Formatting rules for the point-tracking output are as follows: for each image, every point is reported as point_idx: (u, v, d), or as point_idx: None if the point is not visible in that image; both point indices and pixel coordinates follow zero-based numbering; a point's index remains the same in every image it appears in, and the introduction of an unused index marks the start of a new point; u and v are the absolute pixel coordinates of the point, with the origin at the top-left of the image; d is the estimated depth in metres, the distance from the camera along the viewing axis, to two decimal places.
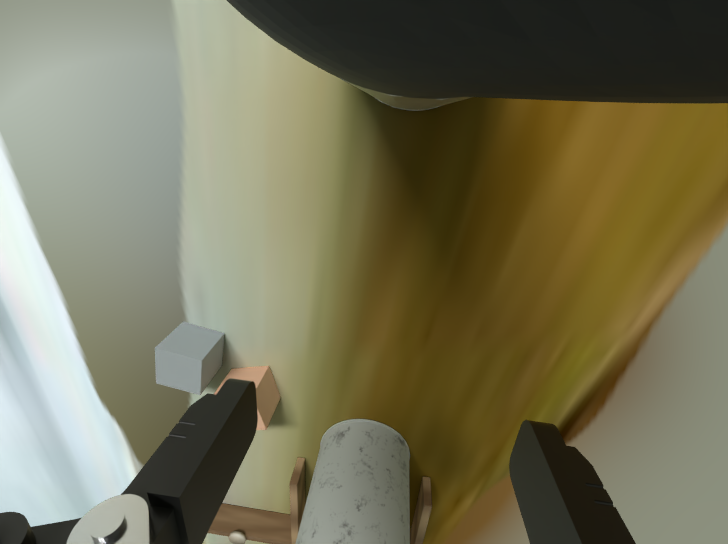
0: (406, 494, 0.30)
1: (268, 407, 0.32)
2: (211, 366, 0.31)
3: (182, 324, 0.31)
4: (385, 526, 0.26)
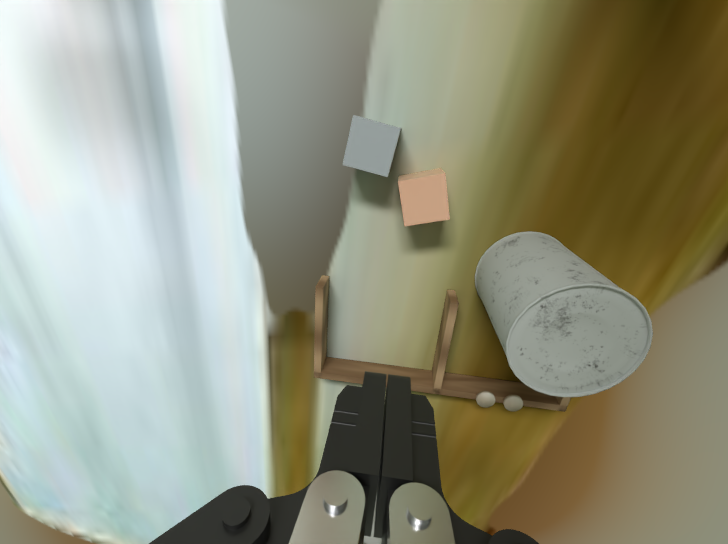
0: None
1: None
2: None
3: None
4: None
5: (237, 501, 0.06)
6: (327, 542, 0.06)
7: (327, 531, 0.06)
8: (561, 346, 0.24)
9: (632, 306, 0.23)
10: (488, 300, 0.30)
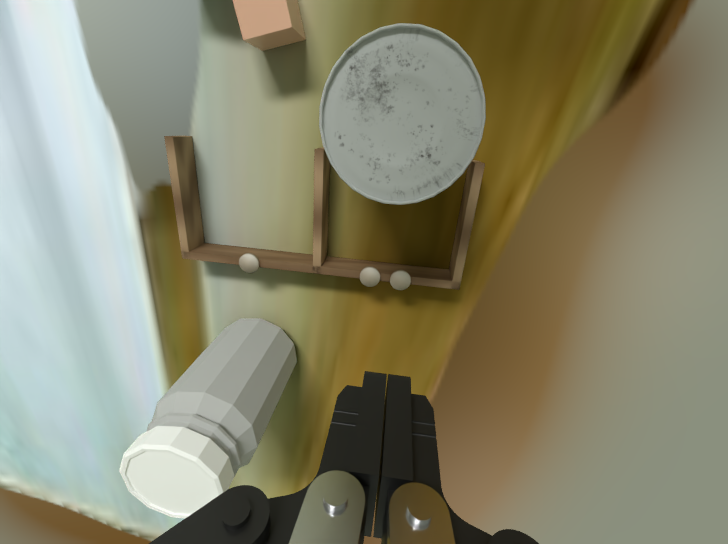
0: None
1: (294, 15, 0.27)
2: None
3: None
4: None
5: (237, 501, 0.06)
6: (327, 542, 0.06)
7: (327, 531, 0.06)
8: (385, 129, 0.20)
9: (456, 59, 0.18)
10: None
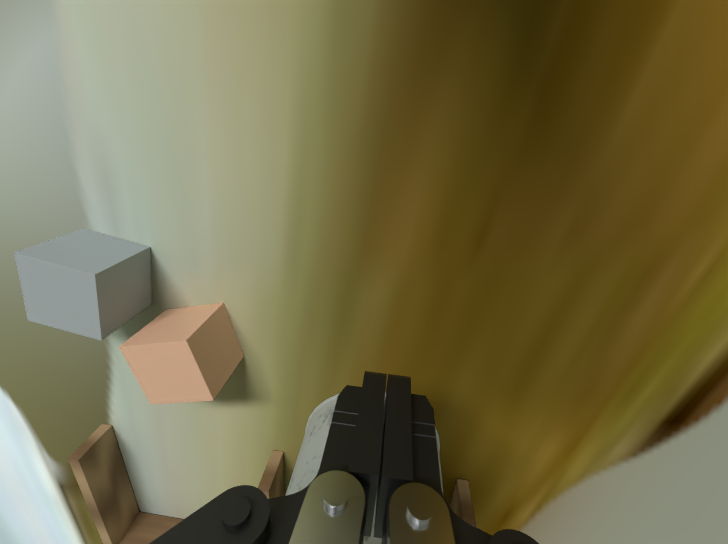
0: None
1: (220, 365, 0.20)
2: (125, 296, 0.19)
3: (81, 231, 0.19)
4: None
5: (237, 502, 0.06)
6: (327, 542, 0.06)
7: (328, 532, 0.06)
8: None
9: None
10: None
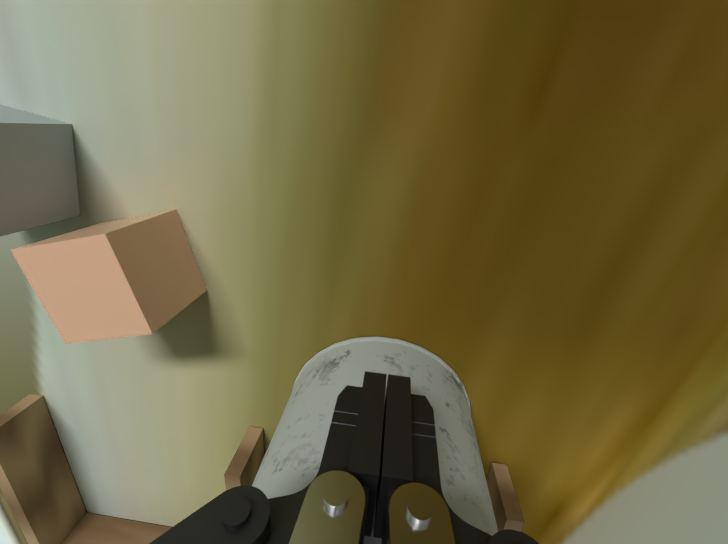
0: (487, 492, 0.12)
1: (166, 290, 0.14)
2: (29, 185, 0.13)
3: None
4: None
5: (237, 501, 0.06)
6: (327, 542, 0.06)
7: (327, 532, 0.06)
8: None
9: None
10: None
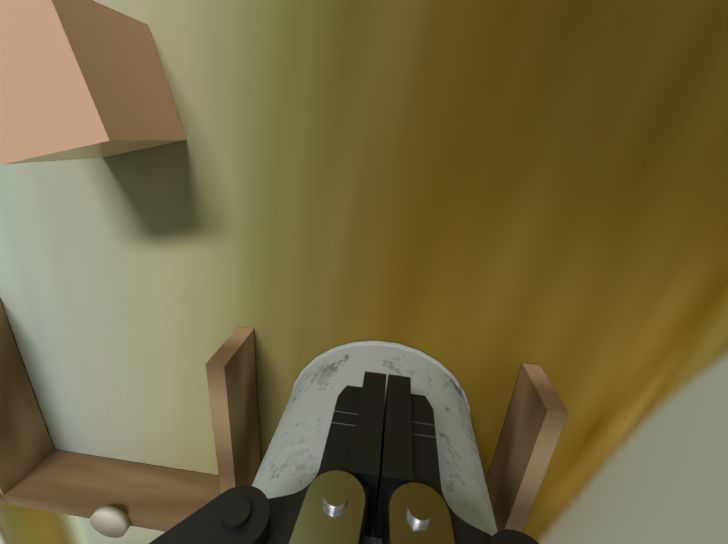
0: (488, 498, 0.12)
1: (131, 104, 0.11)
2: None
3: None
4: None
5: (237, 501, 0.06)
6: (327, 542, 0.06)
7: (327, 531, 0.06)
8: None
9: None
10: None
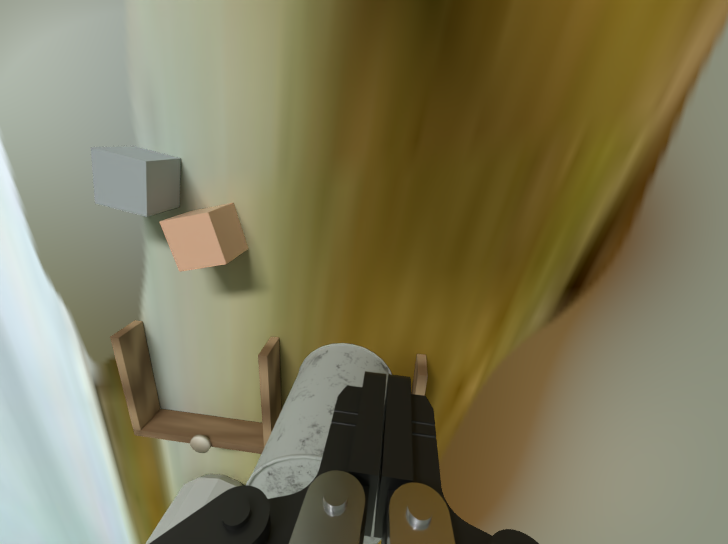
0: None
1: (231, 244, 0.27)
2: (163, 190, 0.26)
3: (131, 146, 0.27)
4: None
5: (237, 501, 0.06)
6: (327, 542, 0.06)
7: (327, 532, 0.06)
8: None
9: None
10: None
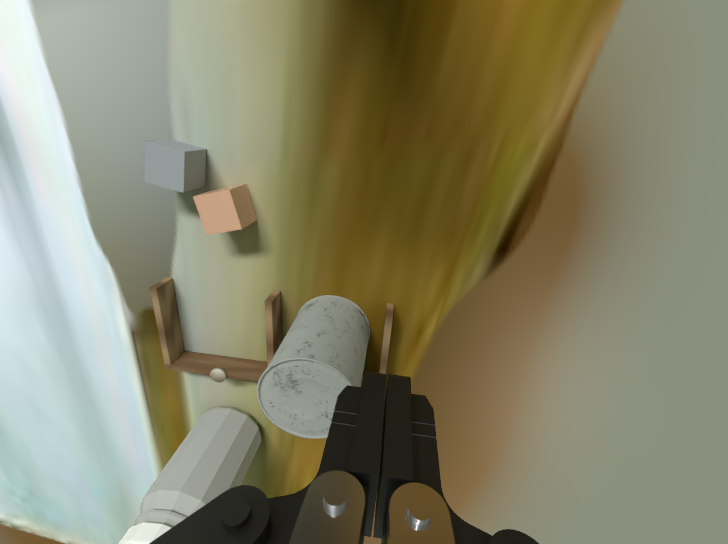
0: (362, 343, 0.37)
1: (245, 214, 0.36)
2: (194, 173, 0.35)
3: (169, 139, 0.35)
4: (339, 347, 0.32)
5: (237, 501, 0.06)
6: (327, 542, 0.06)
7: (327, 531, 0.06)
8: (298, 401, 0.32)
9: (336, 374, 0.30)
10: None
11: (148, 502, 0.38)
